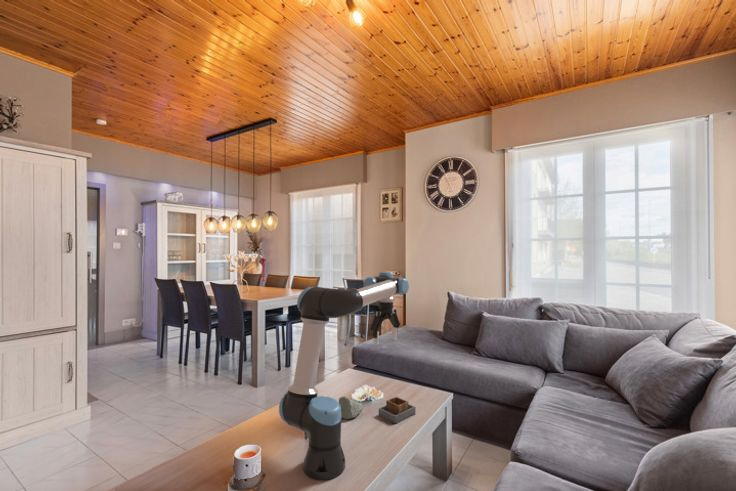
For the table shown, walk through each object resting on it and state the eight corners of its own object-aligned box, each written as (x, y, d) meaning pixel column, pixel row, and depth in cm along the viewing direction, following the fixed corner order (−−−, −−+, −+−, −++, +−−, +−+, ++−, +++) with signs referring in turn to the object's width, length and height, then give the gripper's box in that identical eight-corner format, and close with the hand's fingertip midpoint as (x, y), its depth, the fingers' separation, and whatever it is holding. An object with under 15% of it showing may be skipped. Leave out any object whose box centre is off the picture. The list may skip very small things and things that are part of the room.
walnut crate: (398, 419, 160) (398, 406, 161) (386, 413, 166) (386, 400, 166) (408, 414, 165) (408, 401, 165) (395, 408, 171) (395, 396, 171)
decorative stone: (340, 423, 157) (354, 405, 157) (329, 407, 165) (342, 389, 166) (357, 428, 165) (369, 411, 166) (345, 412, 173) (358, 396, 174)
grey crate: (395, 424, 157) (395, 416, 157) (378, 415, 165) (378, 408, 165) (415, 414, 167) (415, 406, 167) (398, 406, 175) (398, 399, 175)
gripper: (374, 304, 169) (373, 347, 168) (406, 299, 186) (406, 339, 185) (363, 302, 174) (363, 344, 174) (396, 298, 191) (396, 336, 191)
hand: (385, 341), depth 180 cm, fingers open, 13 cm apart
